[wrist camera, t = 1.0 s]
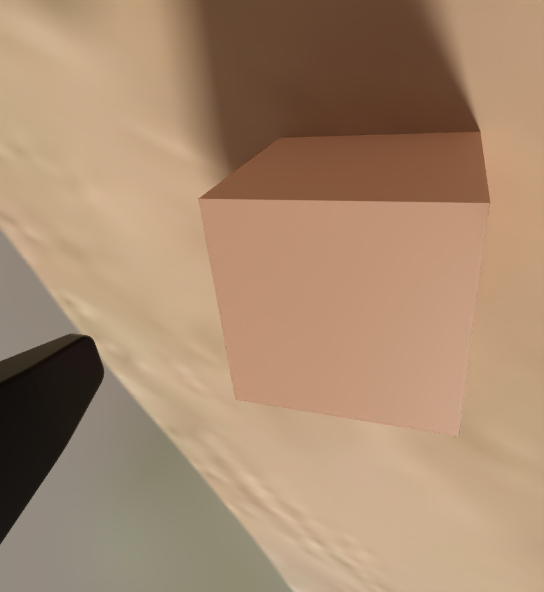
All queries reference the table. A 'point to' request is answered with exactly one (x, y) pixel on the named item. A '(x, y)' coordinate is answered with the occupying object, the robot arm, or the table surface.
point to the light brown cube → (352, 274)
